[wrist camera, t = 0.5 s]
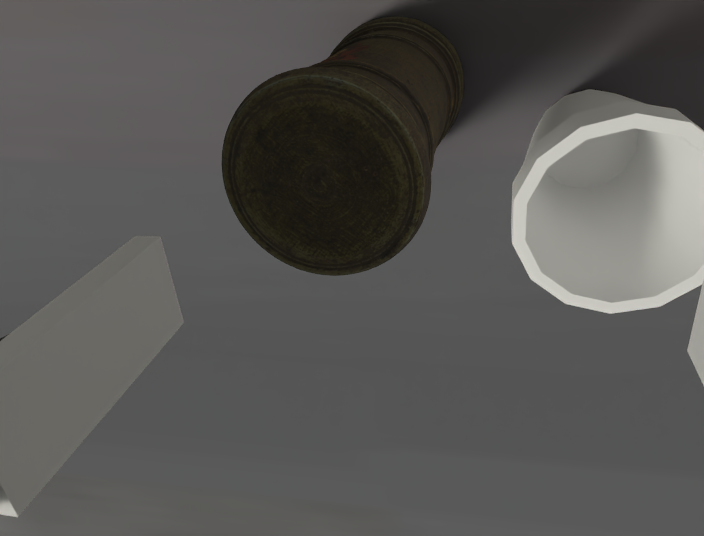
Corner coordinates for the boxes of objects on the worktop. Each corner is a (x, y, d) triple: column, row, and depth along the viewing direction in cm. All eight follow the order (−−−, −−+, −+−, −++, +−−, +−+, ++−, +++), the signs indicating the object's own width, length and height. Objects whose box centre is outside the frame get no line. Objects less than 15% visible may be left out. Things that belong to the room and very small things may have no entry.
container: (482, 35, 34) (469, 99, 19) (440, 171, 39) (401, 311, 24) (342, -2, 35) (220, 31, 20) (316, 136, 40) (202, 249, 24)
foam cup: (556, 37, 34) (583, 76, 23) (701, 98, 33) (800, 168, 22) (484, 176, 39) (476, 265, 27) (610, 230, 38) (654, 342, 27)
